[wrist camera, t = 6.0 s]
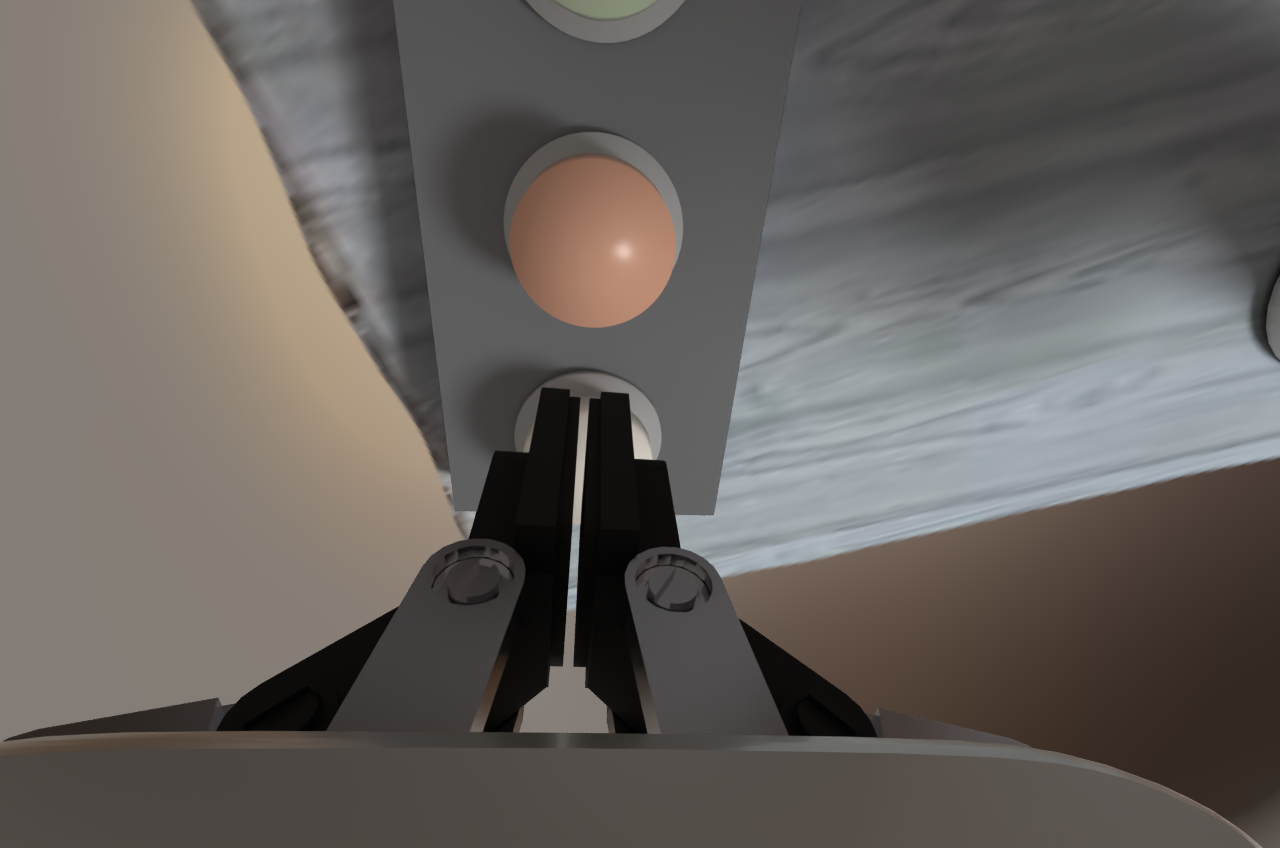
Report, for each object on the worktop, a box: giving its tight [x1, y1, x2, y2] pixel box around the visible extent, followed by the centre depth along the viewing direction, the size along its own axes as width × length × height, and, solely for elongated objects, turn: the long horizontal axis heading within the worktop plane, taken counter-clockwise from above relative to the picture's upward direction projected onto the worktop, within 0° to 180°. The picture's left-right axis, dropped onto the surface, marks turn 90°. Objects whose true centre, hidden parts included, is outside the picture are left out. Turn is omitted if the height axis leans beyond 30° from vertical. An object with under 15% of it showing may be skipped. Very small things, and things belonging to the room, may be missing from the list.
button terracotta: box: [509, 153, 676, 328], centre depth 22 cm, size 6×6×2 cm
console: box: [393, 0, 802, 515], centre depth 25 cm, size 14×30×4 cm, turn 176°
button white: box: [523, 396, 653, 525], centre depth 27 cm, size 6×6×2 cm
